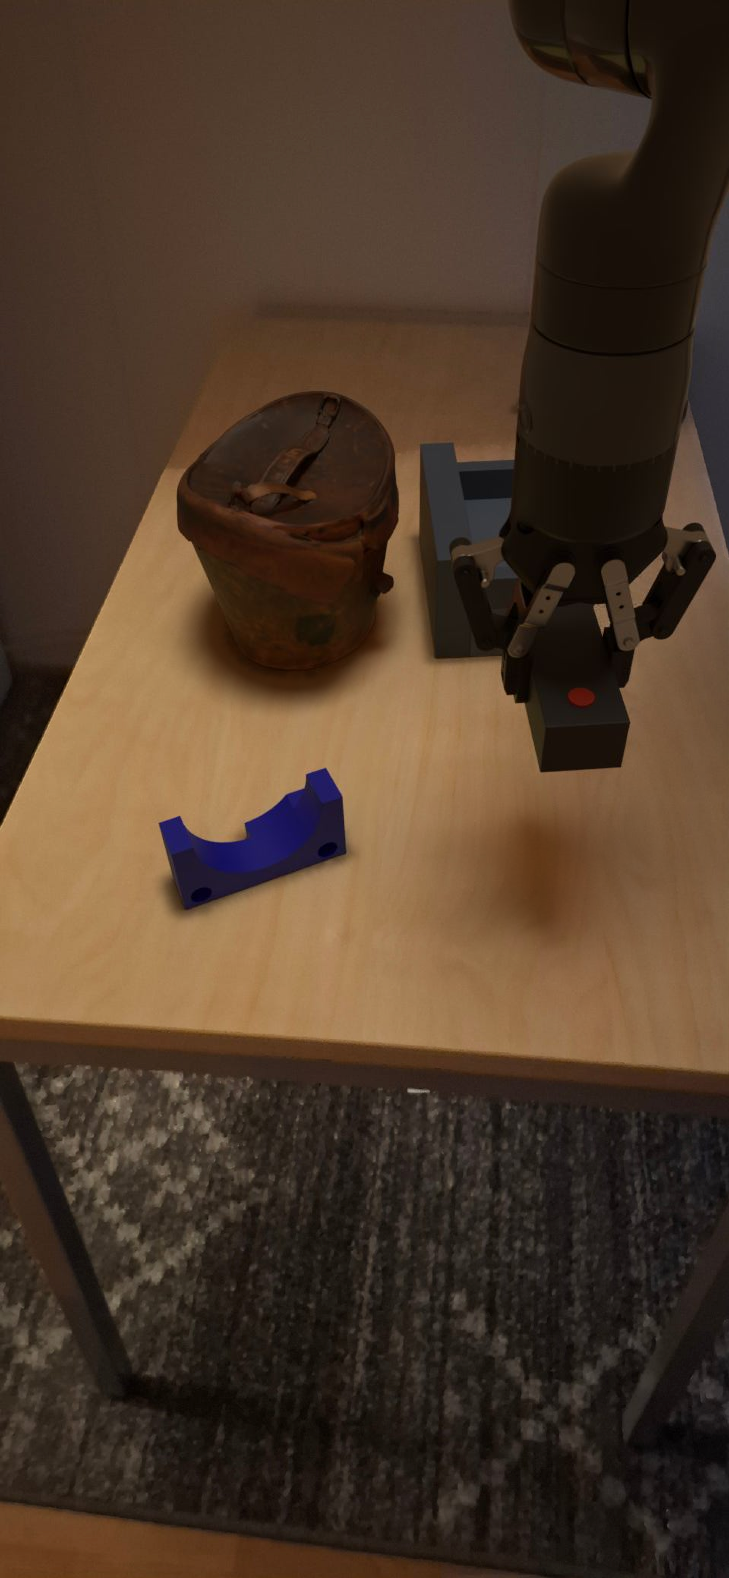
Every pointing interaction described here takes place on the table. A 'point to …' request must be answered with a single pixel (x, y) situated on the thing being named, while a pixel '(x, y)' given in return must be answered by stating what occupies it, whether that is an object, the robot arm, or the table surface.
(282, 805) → the blue bracket
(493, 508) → the sofa
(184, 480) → the case
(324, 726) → the table surface
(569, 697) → the remote
